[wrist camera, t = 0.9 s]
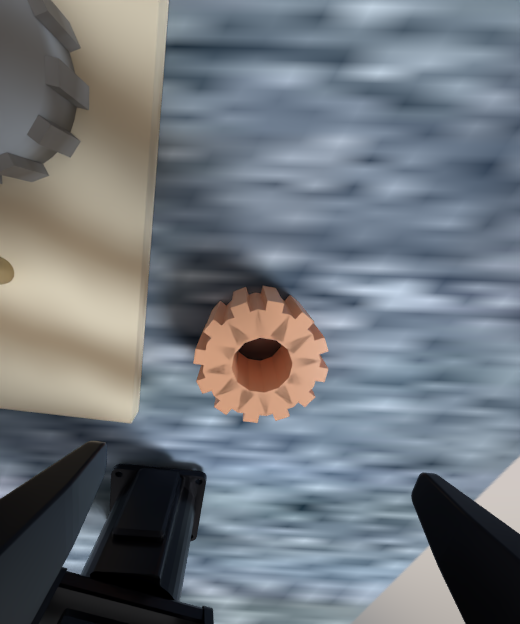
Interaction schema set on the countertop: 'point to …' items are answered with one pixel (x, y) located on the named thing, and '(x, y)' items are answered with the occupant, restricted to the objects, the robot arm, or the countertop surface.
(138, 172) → the gear board
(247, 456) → the countertop surface
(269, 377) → the coral gear
